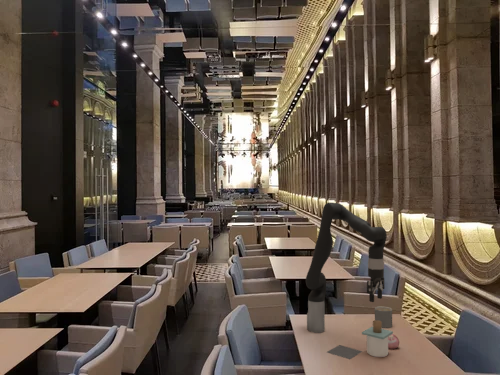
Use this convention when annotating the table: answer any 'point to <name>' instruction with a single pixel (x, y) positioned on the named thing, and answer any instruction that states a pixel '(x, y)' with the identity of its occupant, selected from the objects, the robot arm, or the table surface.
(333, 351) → the mat
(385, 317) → the coffee mug
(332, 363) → the table surface
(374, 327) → the lid
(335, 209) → the robot arm
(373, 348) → the cup
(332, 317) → the table surface
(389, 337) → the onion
